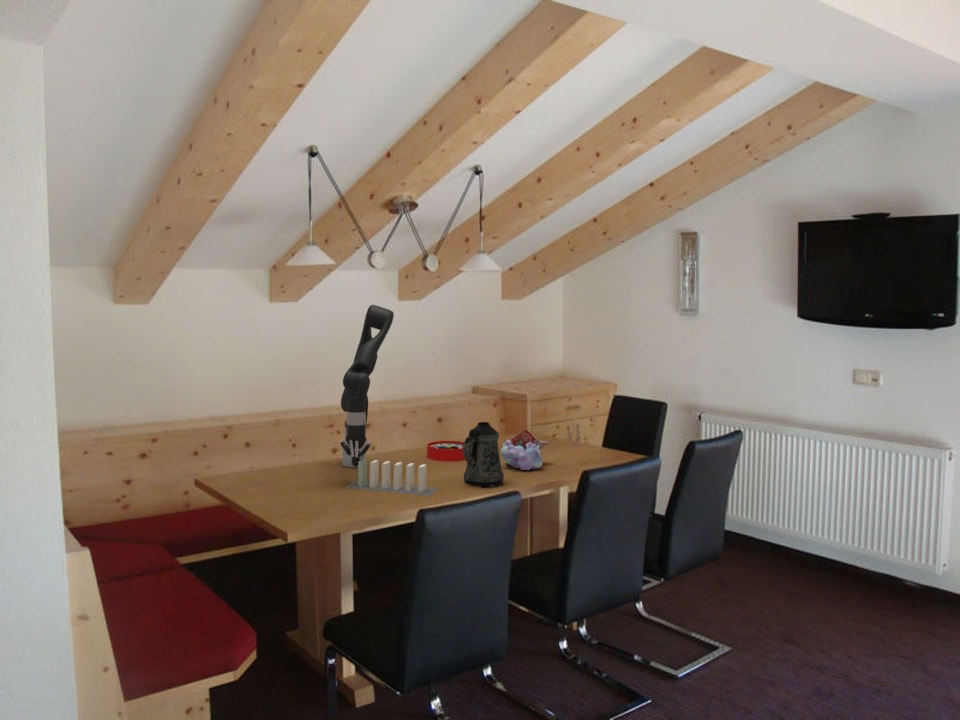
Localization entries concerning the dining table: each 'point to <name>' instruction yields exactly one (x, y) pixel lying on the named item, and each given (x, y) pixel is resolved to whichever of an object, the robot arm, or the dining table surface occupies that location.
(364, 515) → the dining table surface
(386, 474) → the domino
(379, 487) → the mat
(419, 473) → the domino
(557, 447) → the dining table surface
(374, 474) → the domino
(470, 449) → the beer stein
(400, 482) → the domino
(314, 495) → the dining table surface
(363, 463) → the domino
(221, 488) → the dining table surface
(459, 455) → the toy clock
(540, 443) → the swirly pastel blob
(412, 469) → the domino
